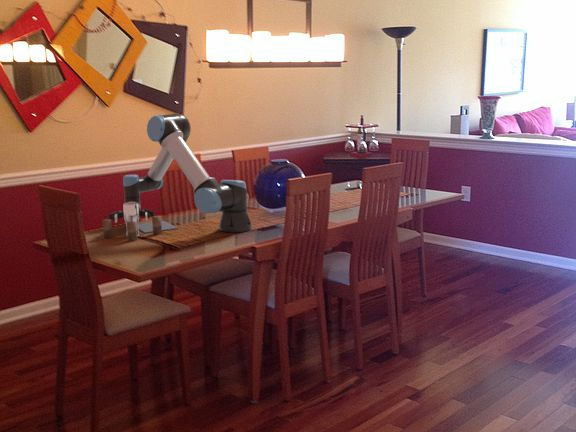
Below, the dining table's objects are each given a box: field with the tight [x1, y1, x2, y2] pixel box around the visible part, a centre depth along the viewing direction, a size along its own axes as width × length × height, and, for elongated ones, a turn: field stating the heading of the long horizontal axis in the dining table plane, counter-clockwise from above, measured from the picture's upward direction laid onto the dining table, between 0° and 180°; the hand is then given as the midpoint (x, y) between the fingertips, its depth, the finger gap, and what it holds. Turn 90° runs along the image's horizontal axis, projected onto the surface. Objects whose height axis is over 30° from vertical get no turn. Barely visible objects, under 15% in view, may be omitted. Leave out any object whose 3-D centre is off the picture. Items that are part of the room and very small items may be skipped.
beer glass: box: [122, 202, 141, 238], centre depth 320 cm, size 7×7×15 cm
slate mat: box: [138, 220, 179, 234], centre depth 338 cm, size 20×16×1 cm
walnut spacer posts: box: [102, 215, 163, 242], centre depth 319 cm, size 16×25×8 cm, turn 119°
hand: (131, 218), depth 319 cm, fingers open, 13 cm apart
